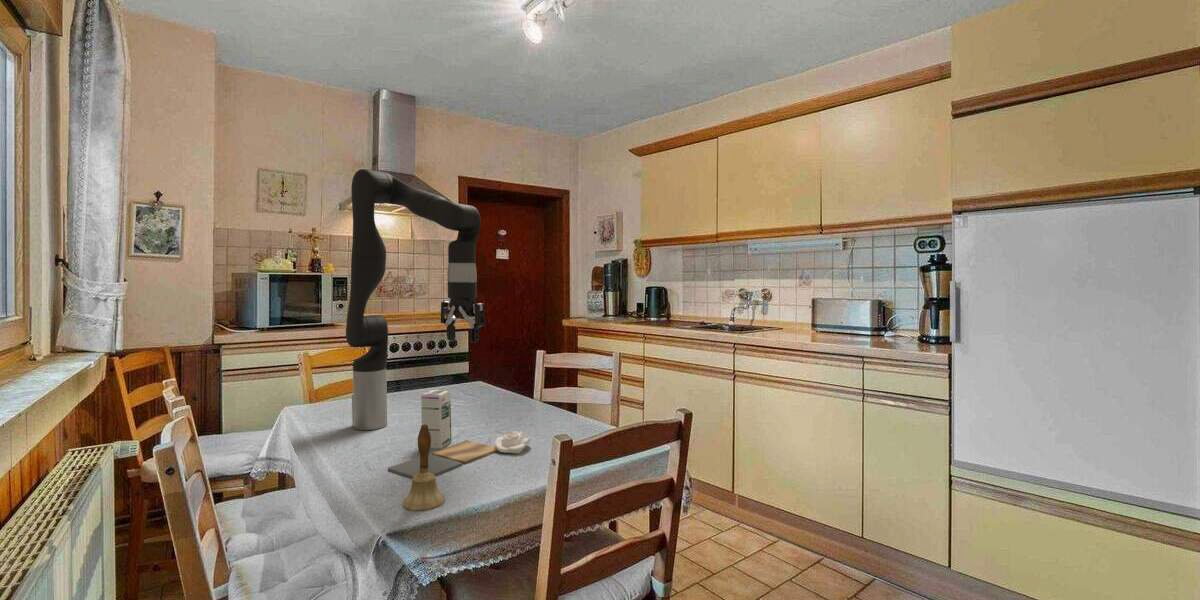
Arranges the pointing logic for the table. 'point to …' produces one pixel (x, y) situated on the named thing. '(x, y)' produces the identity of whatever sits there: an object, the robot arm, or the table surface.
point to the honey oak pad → (465, 451)
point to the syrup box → (437, 416)
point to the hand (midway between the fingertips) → (462, 341)
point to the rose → (511, 442)
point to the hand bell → (423, 479)
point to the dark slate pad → (434, 466)
